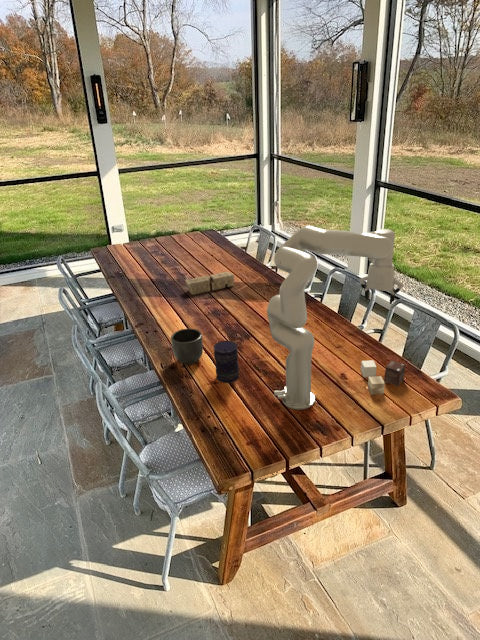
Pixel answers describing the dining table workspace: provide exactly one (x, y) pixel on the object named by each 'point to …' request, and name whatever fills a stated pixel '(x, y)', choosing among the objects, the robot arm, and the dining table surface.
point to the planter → (187, 345)
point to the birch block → (376, 385)
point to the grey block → (368, 368)
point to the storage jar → (226, 361)
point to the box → (394, 373)
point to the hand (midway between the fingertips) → (379, 300)
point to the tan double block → (210, 282)
